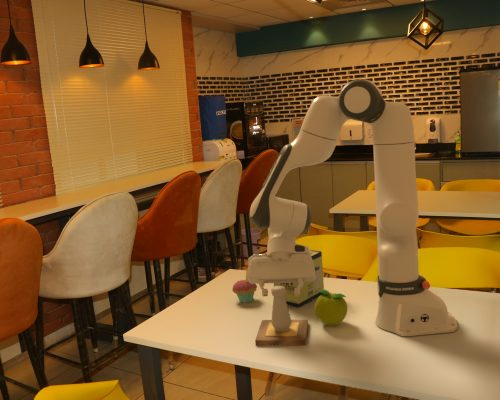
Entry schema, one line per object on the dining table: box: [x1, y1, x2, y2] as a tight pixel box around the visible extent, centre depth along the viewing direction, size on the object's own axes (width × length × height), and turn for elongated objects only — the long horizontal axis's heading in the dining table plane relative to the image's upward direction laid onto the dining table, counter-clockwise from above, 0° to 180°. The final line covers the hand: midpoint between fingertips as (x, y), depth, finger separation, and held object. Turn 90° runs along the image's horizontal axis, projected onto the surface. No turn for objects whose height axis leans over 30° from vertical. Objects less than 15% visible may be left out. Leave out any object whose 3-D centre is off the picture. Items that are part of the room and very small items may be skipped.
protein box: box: [273, 249, 325, 309], centre depth 176 cm, size 10×16×16 cm
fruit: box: [314, 288, 348, 327], centre depth 153 cm, size 9×9×10 cm
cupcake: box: [231, 267, 258, 303], centre depth 179 cm, size 9×8×12 cm
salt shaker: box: [270, 285, 292, 332], centre depth 148 cm, size 6×6×13 cm
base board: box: [254, 318, 309, 346], centre depth 150 cm, size 14×14×2 cm
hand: (280, 295), depth 149 cm, fingers open, 8 cm apart
